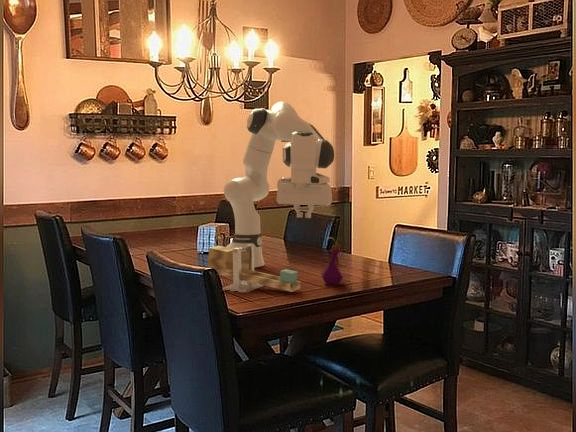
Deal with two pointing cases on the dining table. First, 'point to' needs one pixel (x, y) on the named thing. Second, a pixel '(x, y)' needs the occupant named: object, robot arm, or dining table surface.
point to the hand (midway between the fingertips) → (304, 217)
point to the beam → (244, 269)
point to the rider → (288, 276)
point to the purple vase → (332, 268)
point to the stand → (237, 275)
